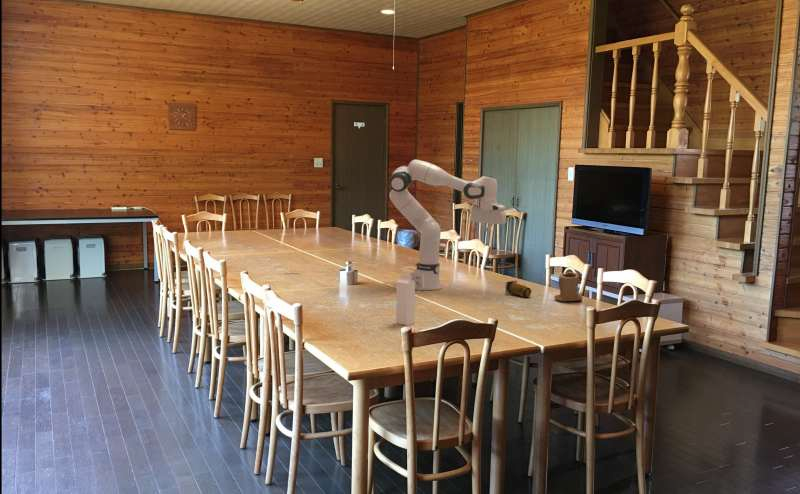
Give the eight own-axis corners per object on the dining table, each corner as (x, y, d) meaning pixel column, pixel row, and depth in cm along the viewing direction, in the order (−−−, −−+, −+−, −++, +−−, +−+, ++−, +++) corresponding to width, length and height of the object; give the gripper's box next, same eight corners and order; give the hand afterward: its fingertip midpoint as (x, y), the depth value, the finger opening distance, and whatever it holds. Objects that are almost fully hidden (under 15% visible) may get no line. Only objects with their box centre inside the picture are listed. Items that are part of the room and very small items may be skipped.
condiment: (515, 293, 362) (532, 298, 352) (504, 294, 357) (520, 300, 347) (516, 280, 361) (533, 285, 351) (505, 281, 356) (522, 286, 346)
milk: (403, 320, 299) (404, 273, 296) (414, 323, 296) (415, 274, 293) (395, 323, 294) (396, 274, 292) (406, 325, 291) (407, 276, 288)
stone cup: (560, 304, 337) (562, 275, 335) (551, 298, 349) (552, 271, 347) (588, 303, 340) (590, 274, 338) (578, 298, 352) (579, 270, 350)
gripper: (468, 205, 358) (467, 230, 360) (502, 207, 346) (501, 233, 348) (474, 204, 363) (473, 229, 365) (507, 206, 351) (506, 232, 353)
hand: (487, 231), depth 356 cm, fingers closed
